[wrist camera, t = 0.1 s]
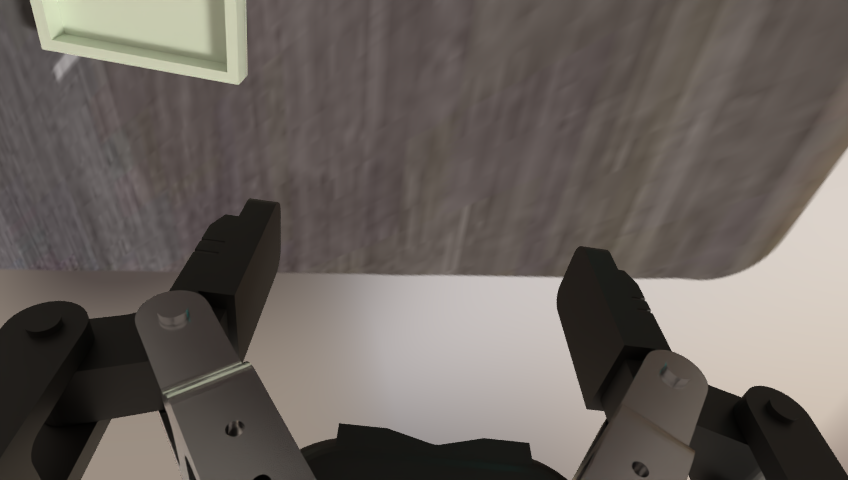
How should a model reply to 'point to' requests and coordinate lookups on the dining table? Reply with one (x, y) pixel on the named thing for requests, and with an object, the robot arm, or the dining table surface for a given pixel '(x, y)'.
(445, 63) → the dining table surface
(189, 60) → the tray
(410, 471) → the robot arm
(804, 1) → the dining table surface
